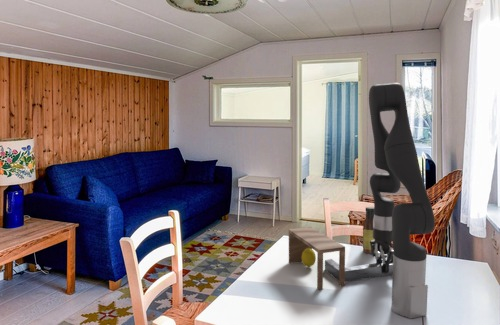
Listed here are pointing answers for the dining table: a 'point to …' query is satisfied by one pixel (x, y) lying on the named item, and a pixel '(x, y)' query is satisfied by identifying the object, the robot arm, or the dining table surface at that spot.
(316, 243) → the small wooden stool
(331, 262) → the crook tool
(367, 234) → the sauce bottle
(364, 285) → the dining table surface
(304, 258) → the lemon
